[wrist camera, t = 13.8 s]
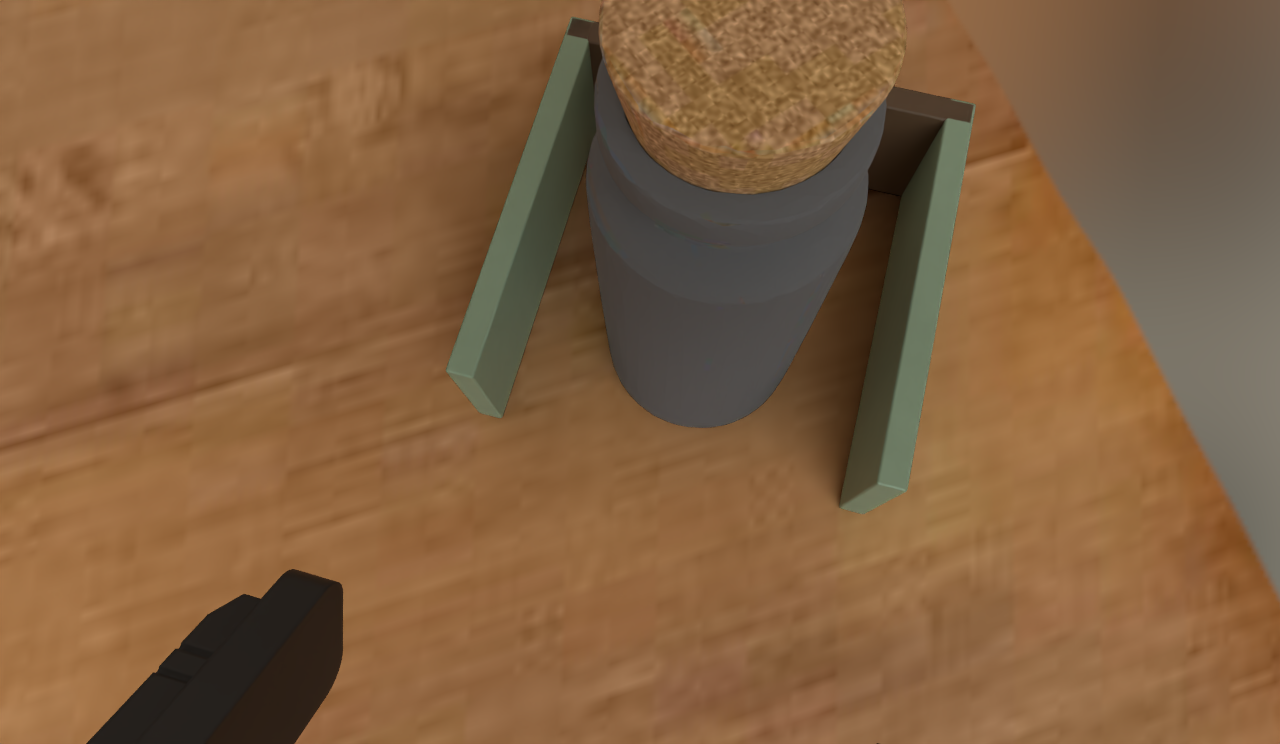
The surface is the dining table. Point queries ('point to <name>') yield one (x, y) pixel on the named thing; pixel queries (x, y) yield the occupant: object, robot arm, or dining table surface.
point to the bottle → (729, 185)
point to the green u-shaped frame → (909, 307)
